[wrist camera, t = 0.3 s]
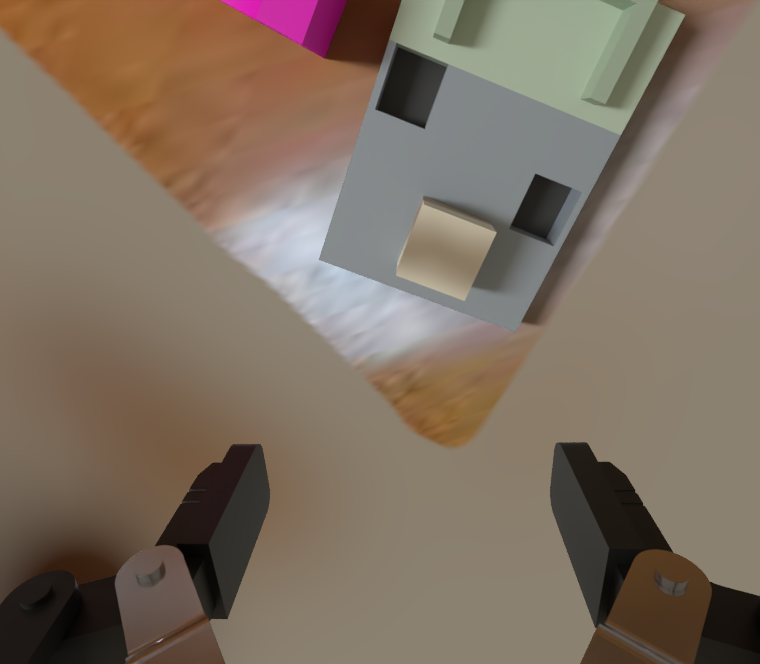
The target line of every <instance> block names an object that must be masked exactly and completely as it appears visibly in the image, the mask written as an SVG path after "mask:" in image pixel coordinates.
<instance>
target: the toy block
mask: <svg viewBox="0 0 760 664" xmlns="http://www.w3.org/2000/svg"><path fill="white" fill-rule="evenodd" d="M220 1H222V2H224V3H225V4H227V5H229V6H231V7H233V8H234V9H236V10H238V11H240V12H242V13H243V14H245V15H247V16H249V17H251V18H252V19H254V20H256V21H258V22H260V23H261V24H263V25H265V26H267V27H269V28H270V29H272V30H274V31H276V32H278V33H279V34H281V35H283V36H285V37H287V38H288V39H290V40H292V41H294V42H296V43H297V44H299V45H301V46H303V47H305V48H306V49H308V50H310V51H312V52H314V53H315V54H317V55H319V56H321V57H323V58H325V56H326V54H327V51H328V49H329V46H330V43H331V41H332V38H333V36H334V33H335V31H336V28H337V25H338V23H339V20H340V18H341V15H342V13H343V10H344V7H345V5H346V2H347V0H220Z"/></svg>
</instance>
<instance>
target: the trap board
mask: <svg viewBox="0 0 760 664" xmlns="http://www.w3.org/2000/svg"><path fill="white" fill-rule="evenodd" d="M657 2H658V0H402V1H401V4H400V7H399V10H398V13H397V16H396V20H395V23H394V26H393V29H392V32H391V35H390V38H389V42H388V45H387V48H386V51H385V54H384V57H383V60H382V63H381V67H380V70H379V73H378V76H377V79H376V82H375V85H374V89H373V92H372V95H371V98H370V101H369V104H368V107H367V110H366V114H365V117H364V120H363V123H362V126H361V129H360V132H359V136H358V139H357V142H356V145H355V148H354V151H353V154H352V157H351V161H350V164H349V167H348V170H347V173H346V176H345V179H344V183H343V186H342V189H341V192H340V195H339V198H338V201H337V204H336V208H335V211H334V214H333V217H332V220H331V223H330V226H329V230H328V233H327V236H326V239H325V242H324V245H323V248H322V251H321V255H320V258H319V260H321V261H324V262H327V263H329V264H332V265H335V266H337V267H340V268H343V269H346V270H348V271H351V272H354V273H356V274H359V275H362V276H365V277H367V278H370V279H373V280H375V281H378V282H381V283H384V284H386V285H389V286H392V287H394V288H397V289H400V290H403V291H405V292H408V293H411V294H413V295H416V296H419V297H422V298H424V299H427V300H430V301H432V302H435V303H438V304H441V305H443V306H446V307H449V308H451V309H454V310H457V311H460V312H462V313H465V314H468V315H470V316H473V317H476V318H479V319H481V320H484V321H487V322H489V323H492V324H495V325H498V326H500V327H503V328H506V329H508V330H511V331H514V332H516V330H517V329H518V327H519V325H520V323H521V321H522V319H523V317H524V316H525V314H526V312H527V310H528V308H529V306H530V304H531V302H532V301H533V299H534V297H535V295H536V293H537V291H538V289H539V287H540V286H541V284H542V282H543V280H544V278H545V276H546V274H547V273H548V271H549V269H550V267H551V265H552V263H553V261H554V259H555V258H556V256H557V254H558V252H559V250H560V248H561V246H562V245H563V243H564V241H565V239H566V237H567V235H568V233H569V231H570V230H571V228H572V226H573V224H574V222H575V220H576V218H577V216H578V215H579V213H580V211H581V209H582V207H583V205H584V203H585V202H586V200H587V198H588V196H589V194H590V192H591V190H592V188H593V187H594V185H595V183H596V181H597V179H598V177H599V175H600V173H601V172H602V170H603V168H604V166H605V164H606V162H607V160H608V159H609V157H610V155H611V153H612V151H613V149H614V147H615V145H616V144H617V142H618V140H619V138H620V136H621V134H622V132H623V131H624V129H625V127H626V125H627V123H628V121H629V119H630V117H631V116H632V114H633V112H634V110H635V108H636V106H637V104H638V102H639V101H640V99H641V97H642V95H643V93H644V91H645V89H646V88H647V86H648V84H649V82H650V80H651V78H652V76H653V74H654V73H655V71H656V69H657V67H658V65H659V63H660V61H661V59H662V58H663V56H664V54H665V52H666V50H667V48H668V46H669V45H670V43H671V41H672V39H673V37H674V35H675V33H676V31H677V30H678V28H679V26H680V24H681V22H682V20H683V18H684V17H685V14H682V13H680V12H678V11H675V10H673V9H671V8H669V7H666V6H664V5H662V4H660V3H657ZM423 196H425V197H427V198H430V199H433V200H435V201H438V202H440V203H443V204H445V205H448V206H451V207H453V208H456V209H458V210H461V211H464V212H466V213H469V214H471V215H474V216H476V217H479V218H482V219H484V220H487V221H489V222H490V223H491V225H492V226H493V228H494V229H495V231H496V232H497V233H496V235H495V237H494V240H493V242H492V244H491V246H490V248H489V250H488V252H487V254H486V257H485V259H484V261H483V263H482V265H481V267H480V269H479V271H478V274H477V276H476V278H475V280H474V282H473V284H472V286H471V288H470V291H469V293H468V295H467V297H466V299H465V301H463V300H461V299H458V298H455V297H452V296H450V295H447V294H444V293H442V292H439V291H436V290H434V289H431V288H428V287H425V286H423V285H420V284H417V283H415V282H412V281H409V280H407V279H404V278H401V277H399V276H396V270H397V262H398V259H399V256H400V254H401V251H402V248H403V246H404V243H405V241H406V238H407V236H408V233H409V231H410V228H411V226H412V223H413V220H414V218H415V215H416V213H417V210H418V208H419V205H420V203H421V200H422V197H423Z"/></svg>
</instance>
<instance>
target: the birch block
mask: <svg viewBox="0 0 760 664" xmlns="http://www.w3.org/2000/svg"><path fill="white" fill-rule="evenodd" d="M496 233H497V232H496V231H495V229H494V228H493V226H492V225H491V223H490V222H489V221H487V220H484V219H482V218H479V217H476V216H474V215H471V214H469V213H466V212H464V211H461V210H458V209H456V208H453V207H451V206H448V205H445V204H443V203H440V202H438V201H435V200H433V199H430V198H427V197H425V196H423V197H422V200H421V203H420V205H419V208H418V210H417V213H416V215H415V218H414V220H413V223H412V226H411V228H410V231H409V233H408V236H407V238H406V241H405V243H404V246H403V248H402V251H401V254H400V256H399V259H398V262H397V270H396V276H399V277H401V278H404V279H407V280H409V281H412V282H415V283H417V284H420V285H423V286H425V287H428V288H431V289H434V290H436V291H439V292H442V293H444V294H447V295H450V296H452V297H455V298H458V299H461V300H463V301H465V299H466V297H467V295H468V293H469V291H470V288H471V286H472V284H473V282H474V280H475V278H476V276H477V274H478V271H479V269H480V267H481V265H482V263H483V261H484V259H485V257H486V254H487V252H488V250H489V248H490V246H491V244H492V242H493V240H494V237H495V235H496Z"/></svg>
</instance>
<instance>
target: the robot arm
mask: <svg viewBox="0 0 760 664" xmlns="http://www.w3.org/2000/svg"><path fill="white" fill-rule="evenodd" d="M550 497H551V506H552V510H553V514H554V516H555V519H556V522H557V525H558V527H559V530H560V533H561V535H562V538H563V541H564V544H565V547H566V549H567V552H568V555H569V557H570V560H571V563H572V566H573V568H574V571H575V574H576V577H577V579H578V582H579V585H580V587H581V590H582V593H583V596H584V599H585V601H586V604H587V607H588V609H589V612H590V615H591V618H592V620H593V623H594V626H595V628H597V629H596V631H595V633H594V635H593V637H592V640H591V642H590V644H589V646H588V648H587V650H586V652H585V655H584V657H583V659H582V661H581V663H580V664H760V596H757V595H753V594H750V593H745V592H742V591H738V590H734V589H731V588H726V587H723V586H720V585H717V584H714V583H712V582H709V580H708V578H707V577H706V575H705V574H704V573H703V572H702V571H701V570H700V569H699V568H698V567H697V566H696V565H695V564H693V563H692V562H691V561H689V560H688V559H686V558H684V557H682V556H680V555H678V554H675V553H673V551H672V550H671V548H670V546H669V545H668V543H667V541H666V540H665V538H664V537H663V535H662V533H661V531H660V530H659V528H658V527H657V525H656V523H655V522H654V520H653V518H652V517H651V515H650V514H649V512H648V510H647V509H646V507H645V506H643V502H642V501H641V499H640V497H639V496H638V494H637V493H635V489H634V487H633V486H632V484H631V483H630V481H629V479H628V478H627V476H626V475H625V474H624V473H622V472H621V471H620V470H619V469H617V468H616V467H615V466H614V465H613V464H612V463H610V462H598V461H597V459H596V457H595V456H594V454H593V452H592V450H591V448H590V447H589V445H588V444H587V443H585V442H582V443H556V446H555V449H554V458H553V468H552V477H551V486H550ZM269 501H270V489H269V483H268V476H267V471H266V465H265V460H264V454H263V449H262V446H261V445H260V444H233V445H232V446H231V447H230V449H229V451H228V452H227V454H226V456H225V458H224V459H223V461H222V463H212V464H211V465H210V466H208V467H207V468H206V469H205V470H204V471H202V472H201V473H200V474H199V475H198V476H197V478H196V479H195V481H194V483H193V484H192V486H191V488H190V490H189V492H188V493H187V494H186V496H185V497H184V499H183V501H182V504H180V506H179V507H178V509H177V511H176V512H175V514H174V516H173V517H172V519H171V520H170V522H169V524H168V525H167V527H166V529H165V530H164V532H163V534H162V535H161V537H160V538H159V540H158V542H157V543H156V545H155V546H154V547H151V548H148V549H145V550H143V551H141V552H139V553H138V554H136V555H135V556H133V557H132V558H130V559H129V560H128V561H127V562H126V563H125V564H124V565H123V567H122V568H121V569H120V571H119V572H118V574H117V575H115V576H112V577H108V578H104V579H100V580H96V581H93V582H88V583H85V584H80V585H77V582H76V580H75V578H74V576H73V575H72V574H71V573H70V572H68V571H64V570H53V571H48V572H45V573H42V574H39V575H37V576H34V577H32V578H30V579H29V580H27V581H25V582H24V583H22V584H21V585H20V586H18V587H17V588H16V589H14V590H13V591H12V592H11V593H10V594H9V595H8V596H7V597H6V598H5V600H4V601H3V602H2V603H1V605H0V664H225V661H224V658H223V656H222V653H221V651H220V648H219V645H218V643H217V640H216V637H215V635H214V632H213V629H212V626H211V624H210V620H211V619H228V616H229V613H230V610H231V608H232V605H233V602H234V600H235V597H236V594H237V592H238V589H239V586H240V584H241V581H242V578H243V576H244V573H245V570H246V567H247V565H248V562H249V559H250V557H251V554H252V551H253V548H254V546H255V543H256V540H257V538H258V535H259V533H260V530H261V527H262V525H263V522H264V519H265V517H266V514H267V511H268V507H269Z"/></svg>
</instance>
